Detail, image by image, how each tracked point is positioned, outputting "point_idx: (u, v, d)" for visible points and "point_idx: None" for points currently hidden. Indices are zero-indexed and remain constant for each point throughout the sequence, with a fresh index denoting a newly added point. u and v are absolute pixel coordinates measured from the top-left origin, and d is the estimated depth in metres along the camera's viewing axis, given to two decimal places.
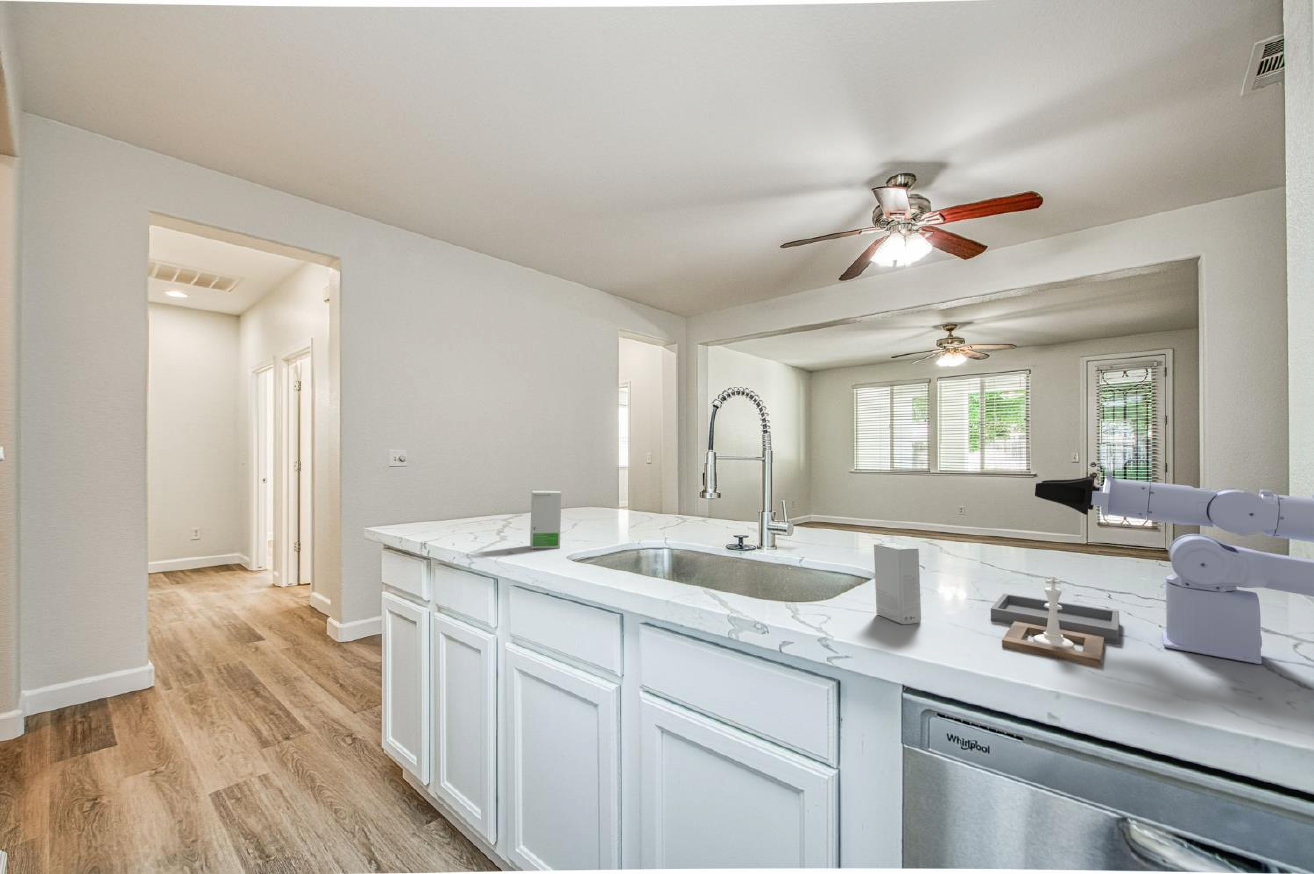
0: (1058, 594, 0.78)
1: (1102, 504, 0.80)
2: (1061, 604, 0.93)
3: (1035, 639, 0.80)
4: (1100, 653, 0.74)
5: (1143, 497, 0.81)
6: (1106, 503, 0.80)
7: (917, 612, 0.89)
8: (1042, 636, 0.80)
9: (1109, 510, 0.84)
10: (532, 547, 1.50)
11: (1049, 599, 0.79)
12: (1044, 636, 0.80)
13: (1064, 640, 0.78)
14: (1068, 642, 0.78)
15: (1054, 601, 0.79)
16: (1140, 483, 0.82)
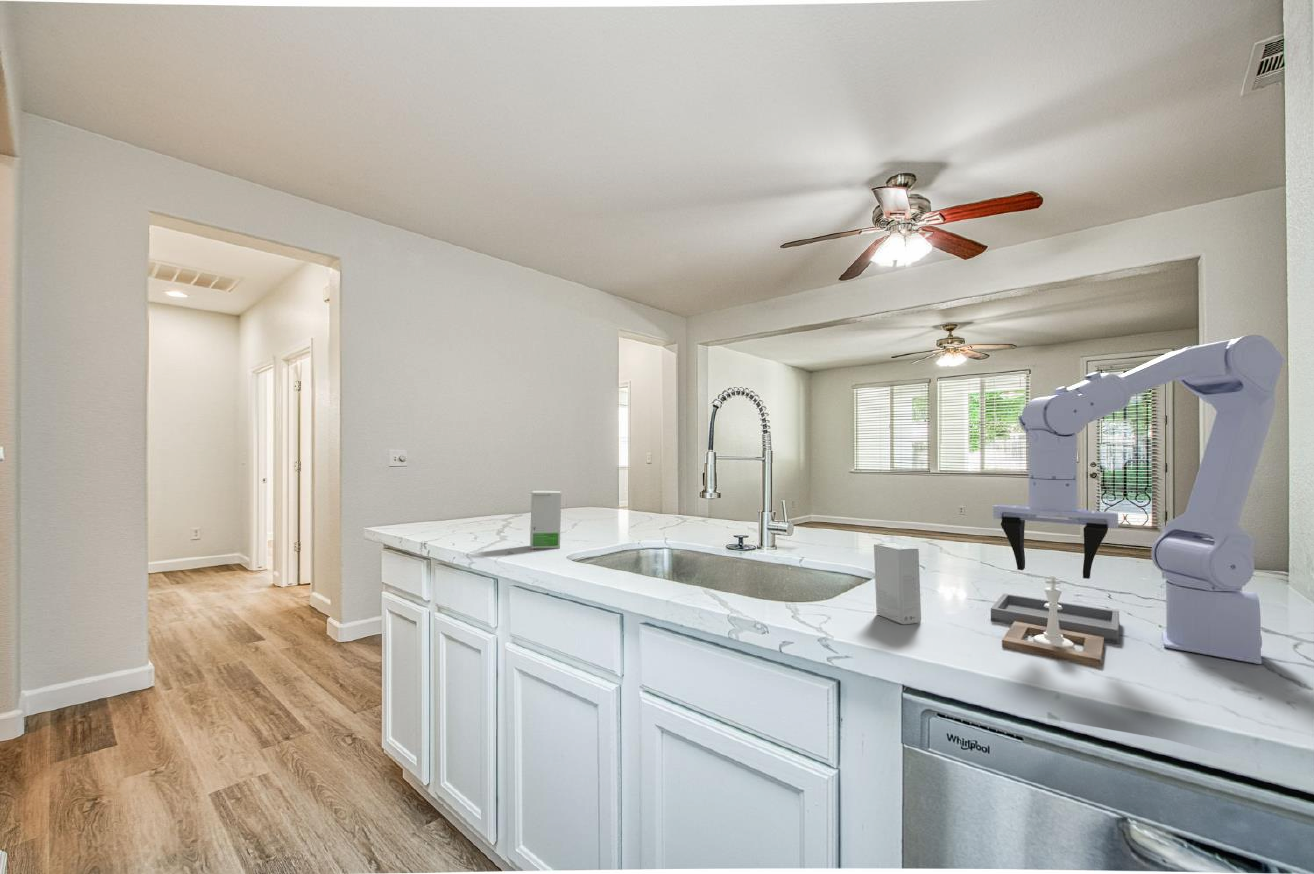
0: (1058, 594, 0.78)
1: None
2: (1061, 604, 0.93)
3: (1035, 639, 0.80)
4: (1100, 653, 0.74)
5: (1075, 483, 0.77)
6: None
7: (917, 612, 0.89)
8: (1042, 636, 0.80)
9: None
10: (532, 547, 1.50)
11: (1049, 599, 0.79)
12: (1044, 636, 0.80)
13: (1064, 640, 0.78)
14: (1068, 642, 0.78)
15: (1054, 601, 0.79)
16: (1060, 487, 0.77)
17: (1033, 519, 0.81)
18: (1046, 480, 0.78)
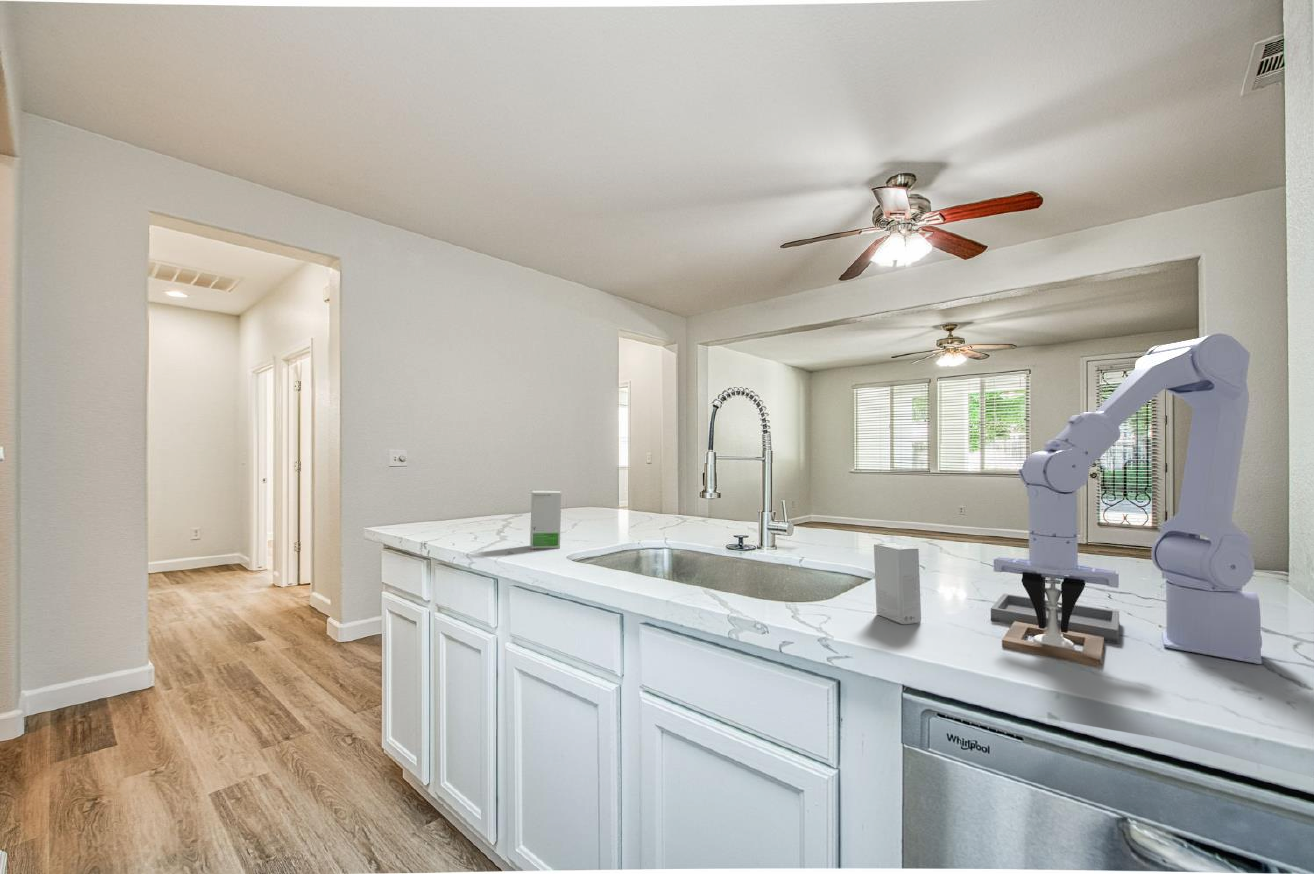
0: (1058, 594, 0.78)
1: (1118, 576, 0.75)
2: (1061, 604, 0.93)
3: (1035, 639, 0.80)
4: (1100, 653, 0.74)
5: (1076, 541, 0.77)
6: (1118, 573, 0.75)
7: (917, 612, 0.89)
8: (1042, 636, 0.80)
9: None
10: (532, 547, 1.50)
11: (1049, 599, 0.79)
12: (1044, 636, 0.80)
13: (1064, 640, 0.78)
14: (1068, 642, 0.78)
15: (1054, 601, 0.79)
16: (1061, 545, 0.77)
17: (1033, 574, 0.81)
18: (1046, 537, 0.78)
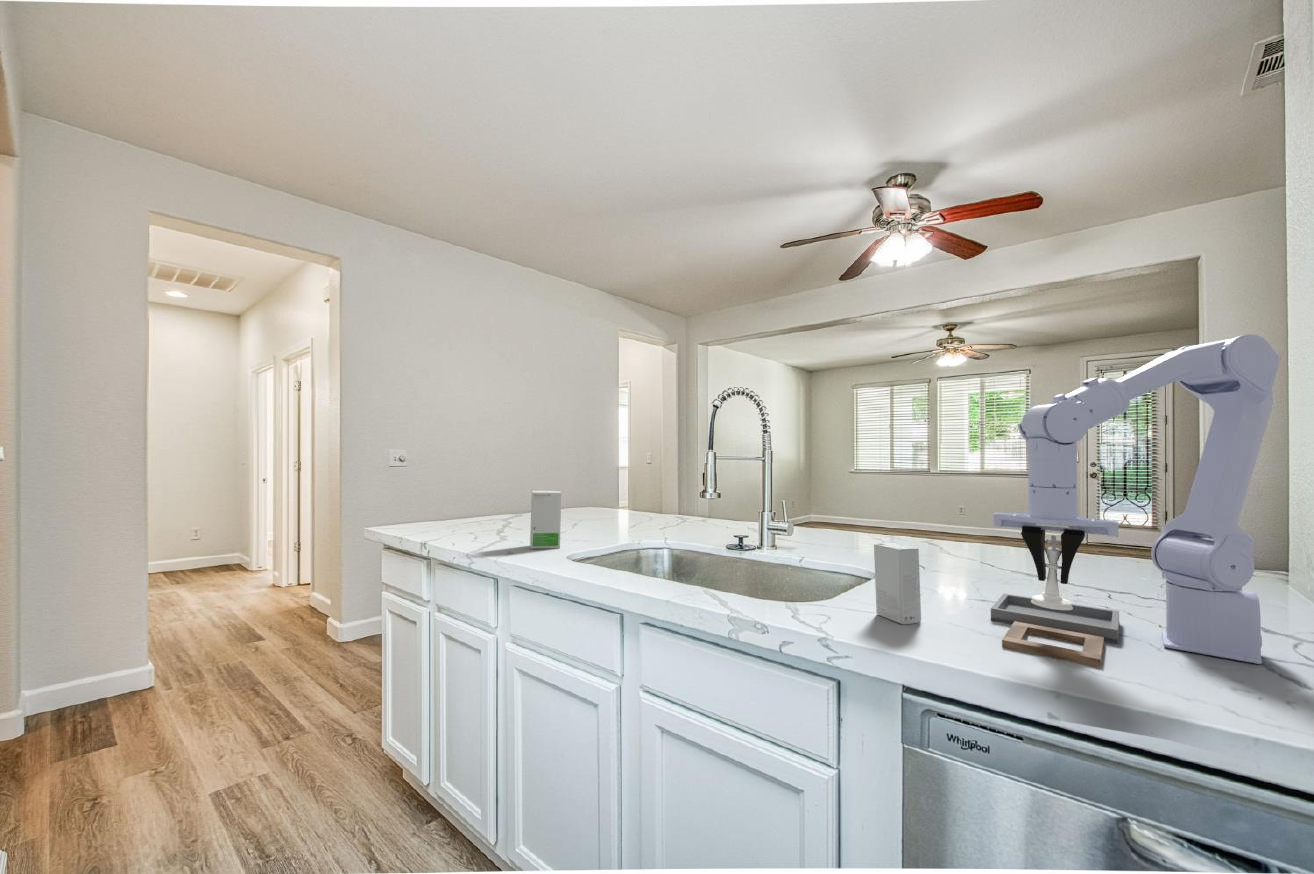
0: (1058, 553, 0.78)
1: None
2: None
3: (1033, 598, 0.80)
4: (1100, 653, 0.74)
5: (1075, 492, 0.77)
6: None
7: (917, 612, 0.89)
8: (1040, 595, 0.80)
9: None
10: (532, 547, 1.50)
11: (1049, 558, 0.79)
12: (1042, 595, 0.80)
13: (1062, 599, 0.78)
14: (1066, 601, 0.78)
15: (1053, 560, 0.79)
16: (1061, 495, 0.77)
17: (1033, 527, 0.81)
18: (1046, 488, 0.78)
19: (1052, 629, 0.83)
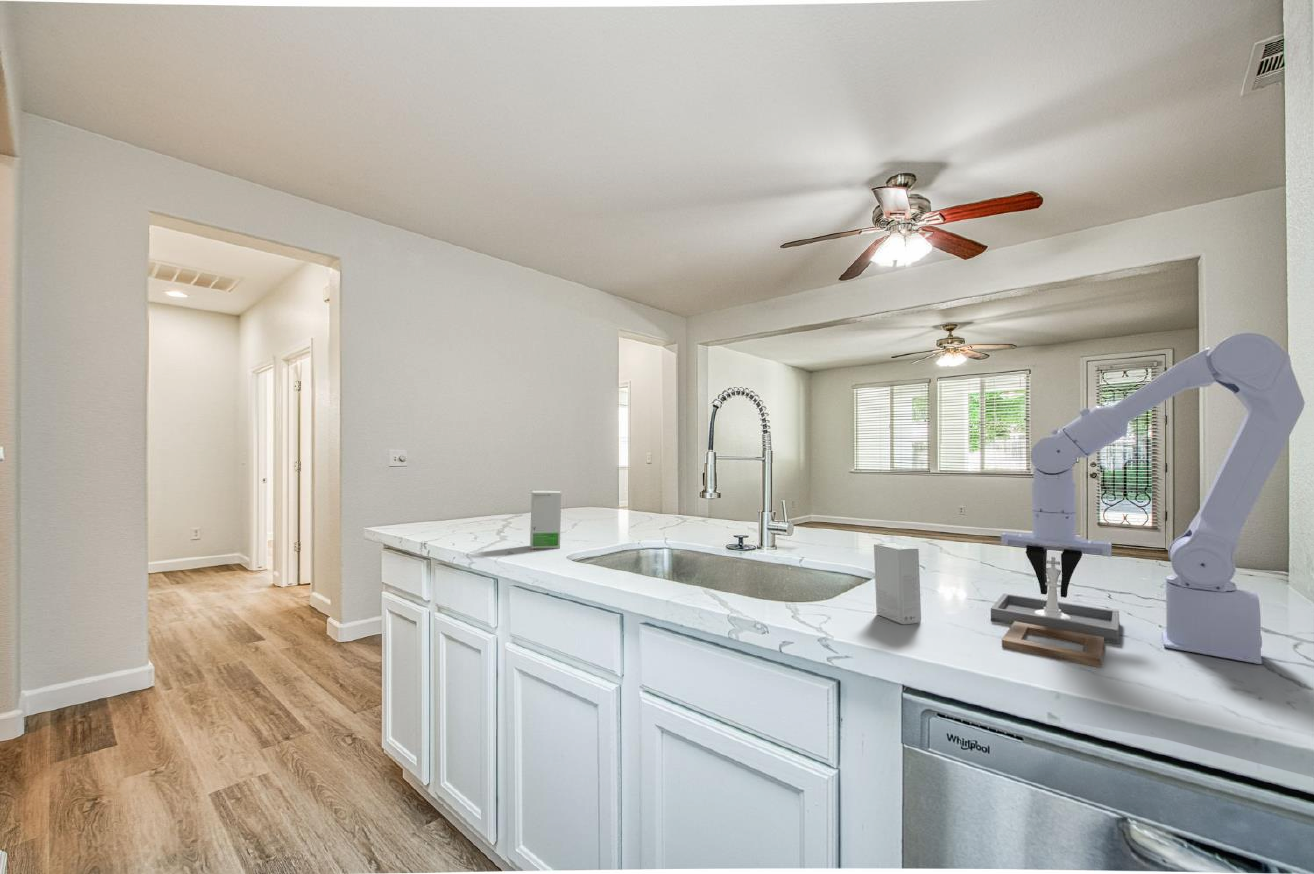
0: (1056, 573, 0.88)
1: None
2: (1061, 604, 0.93)
3: (1035, 612, 0.90)
4: (1100, 653, 0.74)
5: (1074, 516, 0.88)
6: None
7: (917, 612, 0.89)
8: (1042, 610, 0.90)
9: None
10: (532, 547, 1.50)
11: (1049, 577, 0.89)
12: (1043, 610, 0.90)
13: (1061, 614, 0.88)
14: (1064, 616, 0.87)
15: (1053, 579, 0.89)
16: (1061, 520, 0.87)
17: (1036, 546, 0.91)
18: (1048, 513, 0.88)
19: (1052, 629, 0.83)
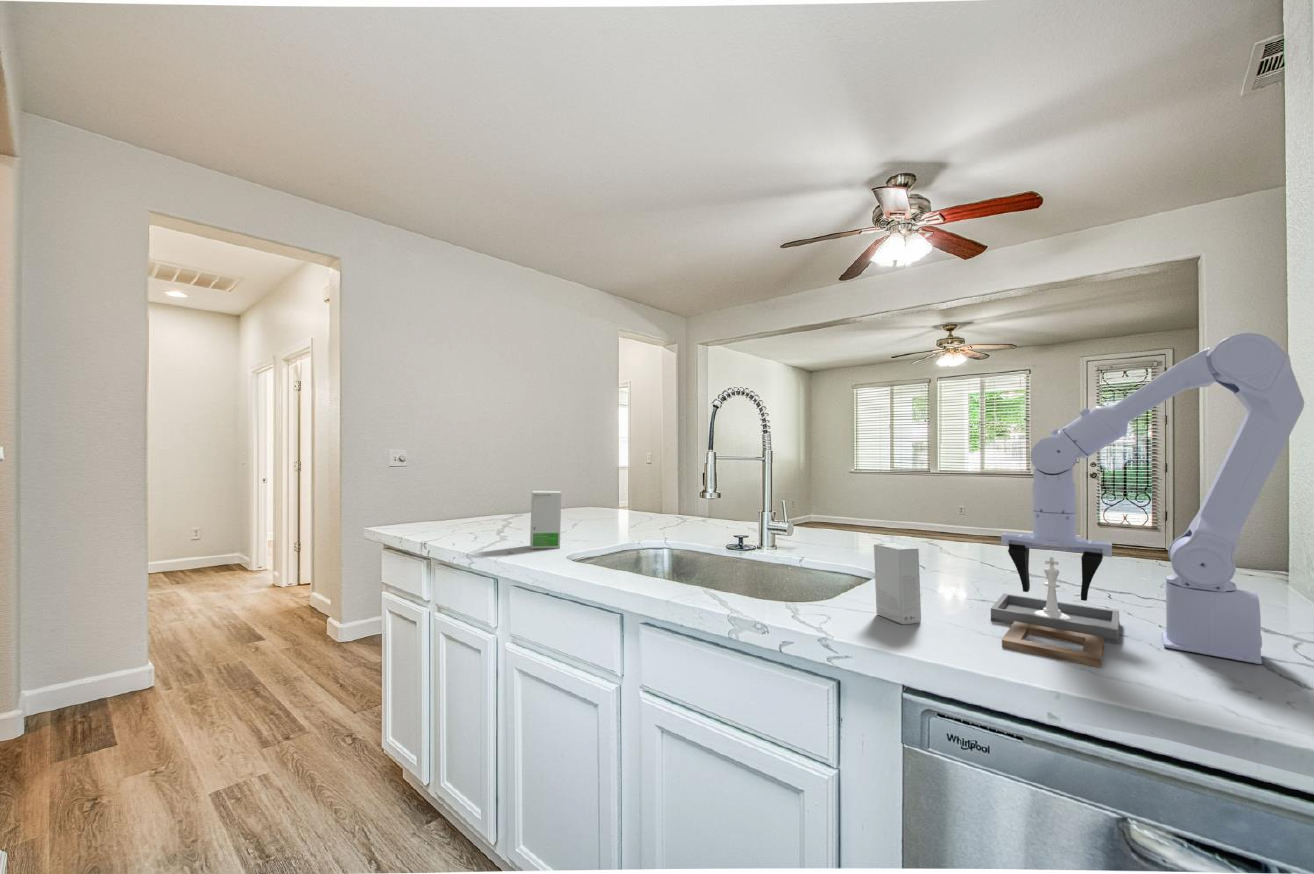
0: (1055, 573, 0.88)
1: None
2: (1061, 604, 0.93)
3: (1035, 613, 0.90)
4: (1100, 653, 0.74)
5: (1074, 516, 0.88)
6: (1111, 544, 0.86)
7: (917, 612, 0.89)
8: (1042, 611, 0.90)
9: None
10: (532, 547, 1.50)
11: (1048, 578, 0.89)
12: (1043, 611, 0.90)
13: (1061, 614, 0.88)
14: (1064, 616, 0.87)
15: (1051, 579, 0.89)
16: (1061, 520, 0.87)
17: (1037, 547, 0.91)
18: (1048, 513, 0.88)
19: (1052, 629, 0.83)
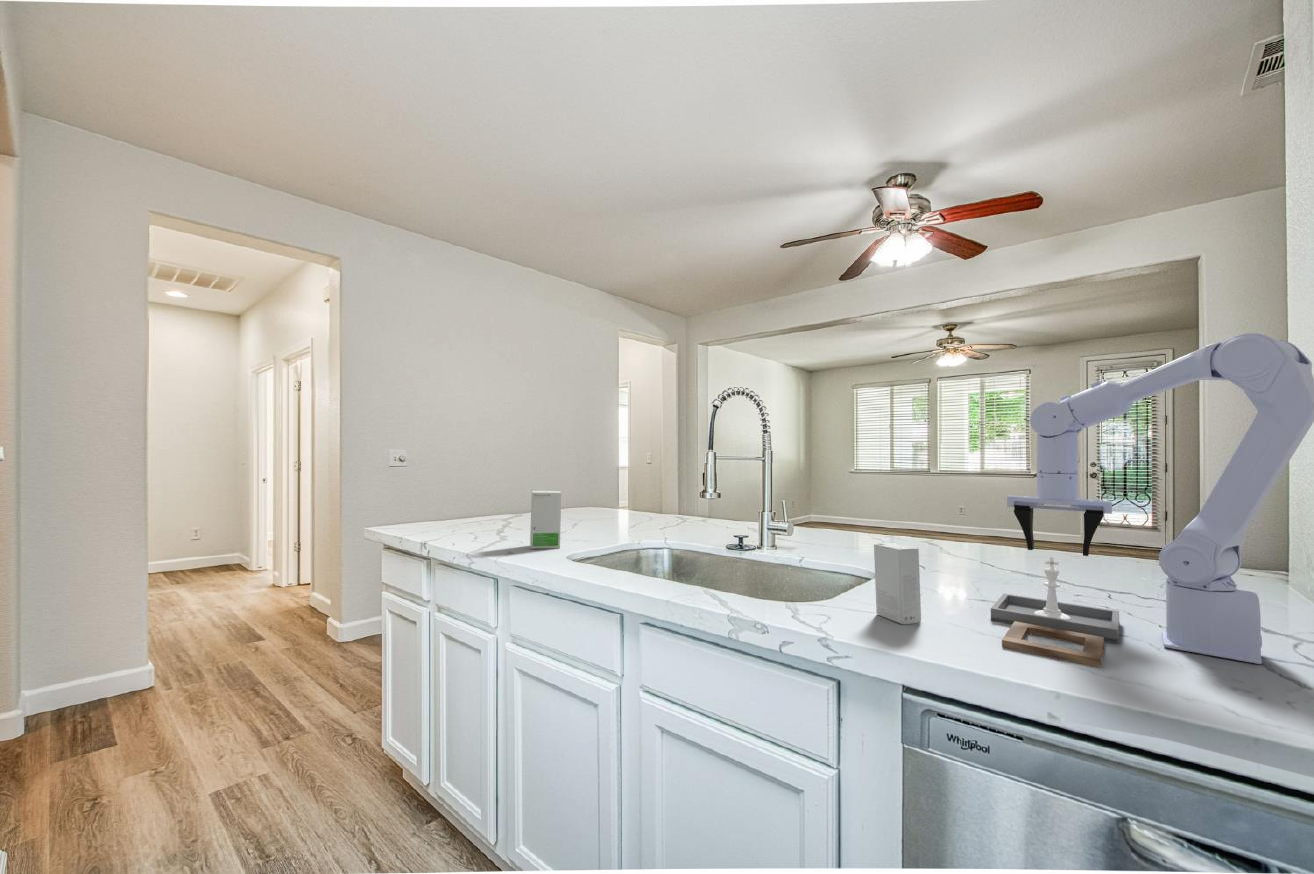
0: (1055, 573, 0.88)
1: None
2: (1061, 604, 0.93)
3: (1035, 613, 0.90)
4: (1100, 653, 0.74)
5: (1077, 477, 0.93)
6: None
7: (917, 612, 0.89)
8: (1042, 611, 0.90)
9: None
10: (532, 547, 1.50)
11: (1048, 578, 0.89)
12: (1043, 611, 0.90)
13: (1061, 614, 0.88)
14: (1064, 616, 0.87)
15: (1051, 579, 0.89)
16: (1064, 480, 0.92)
17: (1041, 507, 0.96)
18: (1052, 474, 0.93)
19: (1052, 629, 0.83)
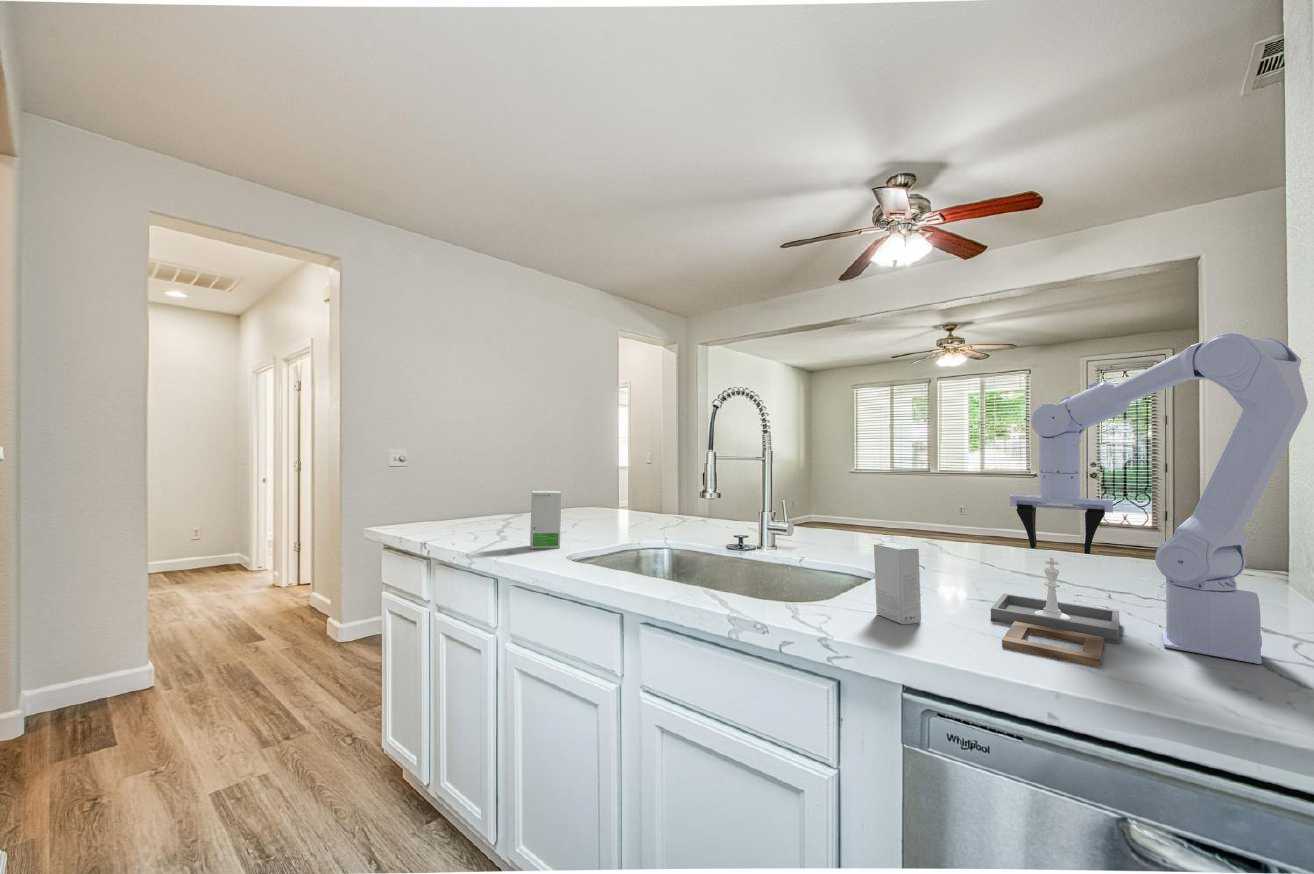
0: (1055, 573, 0.88)
1: None
2: (1061, 604, 0.93)
3: (1035, 613, 0.90)
4: (1100, 653, 0.74)
5: (1078, 476, 0.95)
6: None
7: (917, 612, 0.89)
8: (1042, 611, 0.90)
9: None
10: (532, 547, 1.50)
11: (1048, 578, 0.89)
12: (1043, 611, 0.90)
13: (1061, 614, 0.88)
14: (1064, 616, 0.87)
15: (1051, 579, 0.89)
16: (1066, 479, 0.94)
17: (1043, 506, 0.98)
18: (1054, 474, 0.95)
19: (1052, 629, 0.83)
